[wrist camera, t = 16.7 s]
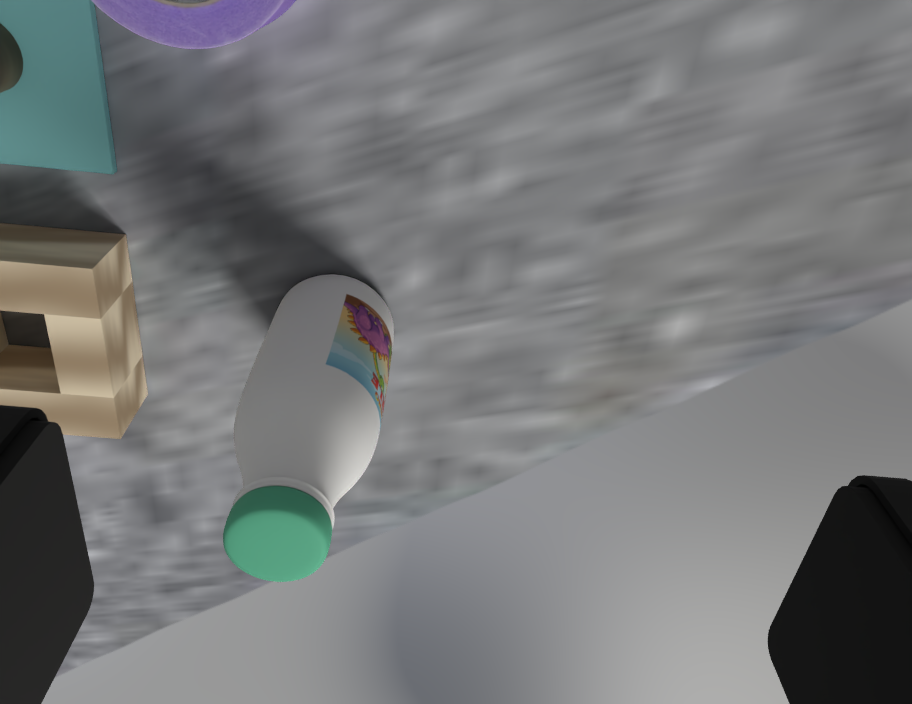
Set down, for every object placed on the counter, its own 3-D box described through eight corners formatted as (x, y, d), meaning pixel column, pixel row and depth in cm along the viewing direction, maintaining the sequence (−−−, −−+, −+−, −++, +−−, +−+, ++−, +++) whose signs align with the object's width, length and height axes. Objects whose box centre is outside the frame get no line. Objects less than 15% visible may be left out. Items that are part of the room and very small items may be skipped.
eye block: (-76, 215, 45) (-131, 248, 41) (125, 234, 46) (92, 269, 42) (-30, 380, 52) (-74, 423, 47) (147, 394, 52) (120, 438, 48)
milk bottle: (283, 370, 51) (197, 608, 34) (272, 268, 47) (169, 478, 30) (395, 373, 51) (366, 611, 34) (394, 271, 47) (361, 483, 30)
